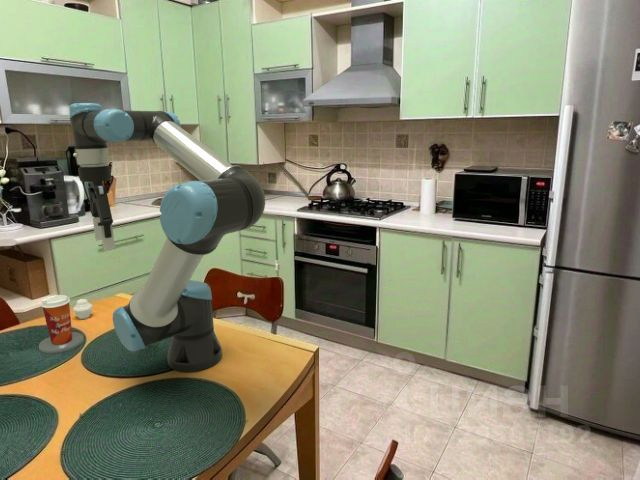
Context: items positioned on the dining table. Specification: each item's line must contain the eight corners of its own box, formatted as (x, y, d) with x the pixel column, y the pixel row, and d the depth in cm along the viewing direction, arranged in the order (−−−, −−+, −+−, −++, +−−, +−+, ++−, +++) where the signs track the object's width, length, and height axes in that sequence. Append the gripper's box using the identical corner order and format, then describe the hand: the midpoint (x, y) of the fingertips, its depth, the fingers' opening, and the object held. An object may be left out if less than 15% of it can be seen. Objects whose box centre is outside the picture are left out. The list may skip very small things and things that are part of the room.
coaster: (85, 346, 136) (85, 343, 136) (39, 357, 130) (39, 353, 129) (81, 332, 146) (81, 328, 146) (39, 341, 140) (38, 338, 139)
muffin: (74, 322, 153) (71, 303, 152) (74, 316, 159) (71, 297, 157) (94, 318, 156) (91, 300, 155) (93, 312, 162) (91, 294, 160)
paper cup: (56, 349, 132) (48, 305, 129) (42, 342, 136) (35, 300, 133) (81, 338, 139) (75, 296, 135) (68, 333, 143) (61, 292, 139)
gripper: (72, 164, 123) (83, 238, 128) (83, 169, 103) (96, 256, 108) (102, 162, 127) (111, 234, 132) (118, 167, 107) (129, 251, 112)
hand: (105, 244), depth 120 cm, fingers open, 13 cm apart
